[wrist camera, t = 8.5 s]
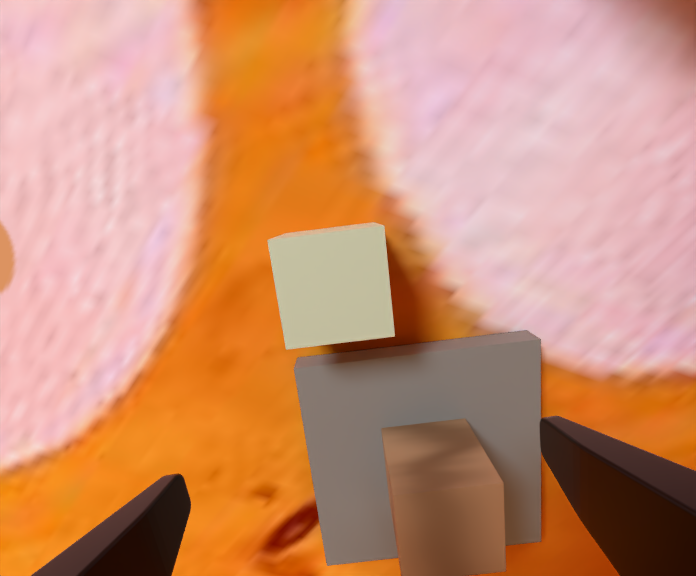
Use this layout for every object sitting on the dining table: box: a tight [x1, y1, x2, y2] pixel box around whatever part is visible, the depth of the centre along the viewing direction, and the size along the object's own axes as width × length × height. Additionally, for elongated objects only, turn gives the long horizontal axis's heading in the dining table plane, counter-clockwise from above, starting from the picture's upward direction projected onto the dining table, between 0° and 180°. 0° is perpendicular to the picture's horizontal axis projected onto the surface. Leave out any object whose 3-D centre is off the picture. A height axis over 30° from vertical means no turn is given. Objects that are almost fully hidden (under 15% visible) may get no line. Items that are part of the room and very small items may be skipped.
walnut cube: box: [381, 418, 506, 576], centre depth 19 cm, size 5×5×5 cm
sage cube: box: [267, 222, 395, 349], centre depth 18 cm, size 5×5×5 cm
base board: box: [294, 330, 541, 566], centre depth 22 cm, size 14×14×2 cm
